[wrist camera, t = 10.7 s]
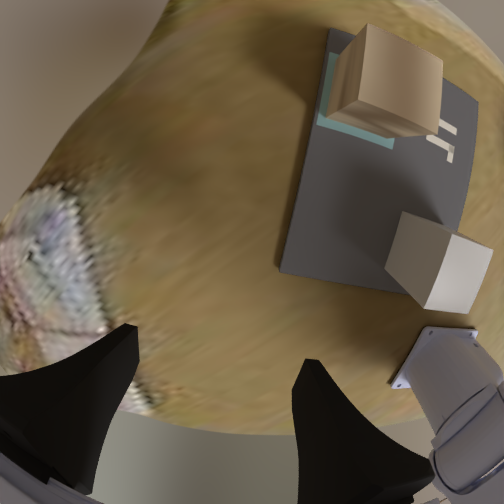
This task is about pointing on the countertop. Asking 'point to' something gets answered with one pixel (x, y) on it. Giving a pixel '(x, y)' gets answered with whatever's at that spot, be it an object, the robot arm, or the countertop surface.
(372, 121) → the maple block
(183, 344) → the countertop surface
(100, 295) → the countertop surface
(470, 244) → the grey block
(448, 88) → the mat
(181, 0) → the countertop surface
